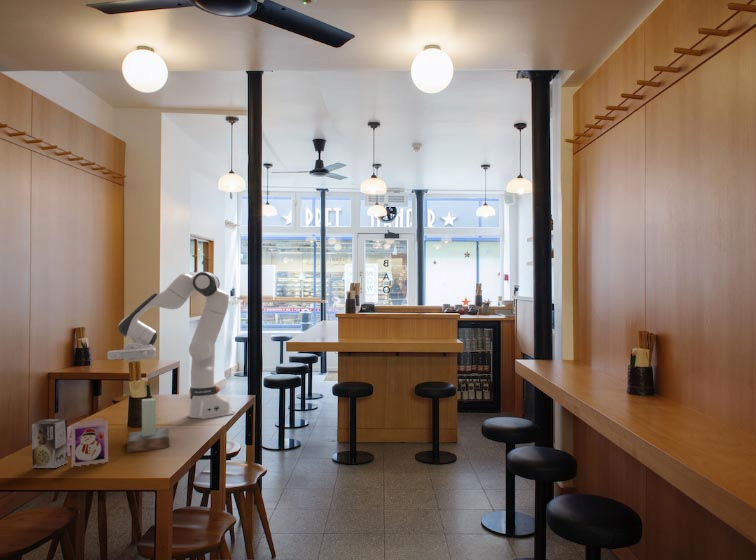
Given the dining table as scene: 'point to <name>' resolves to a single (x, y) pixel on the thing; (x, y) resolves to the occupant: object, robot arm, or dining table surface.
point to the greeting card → (90, 442)
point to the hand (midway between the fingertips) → (131, 355)
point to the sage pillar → (148, 417)
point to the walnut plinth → (148, 440)
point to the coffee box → (49, 443)
